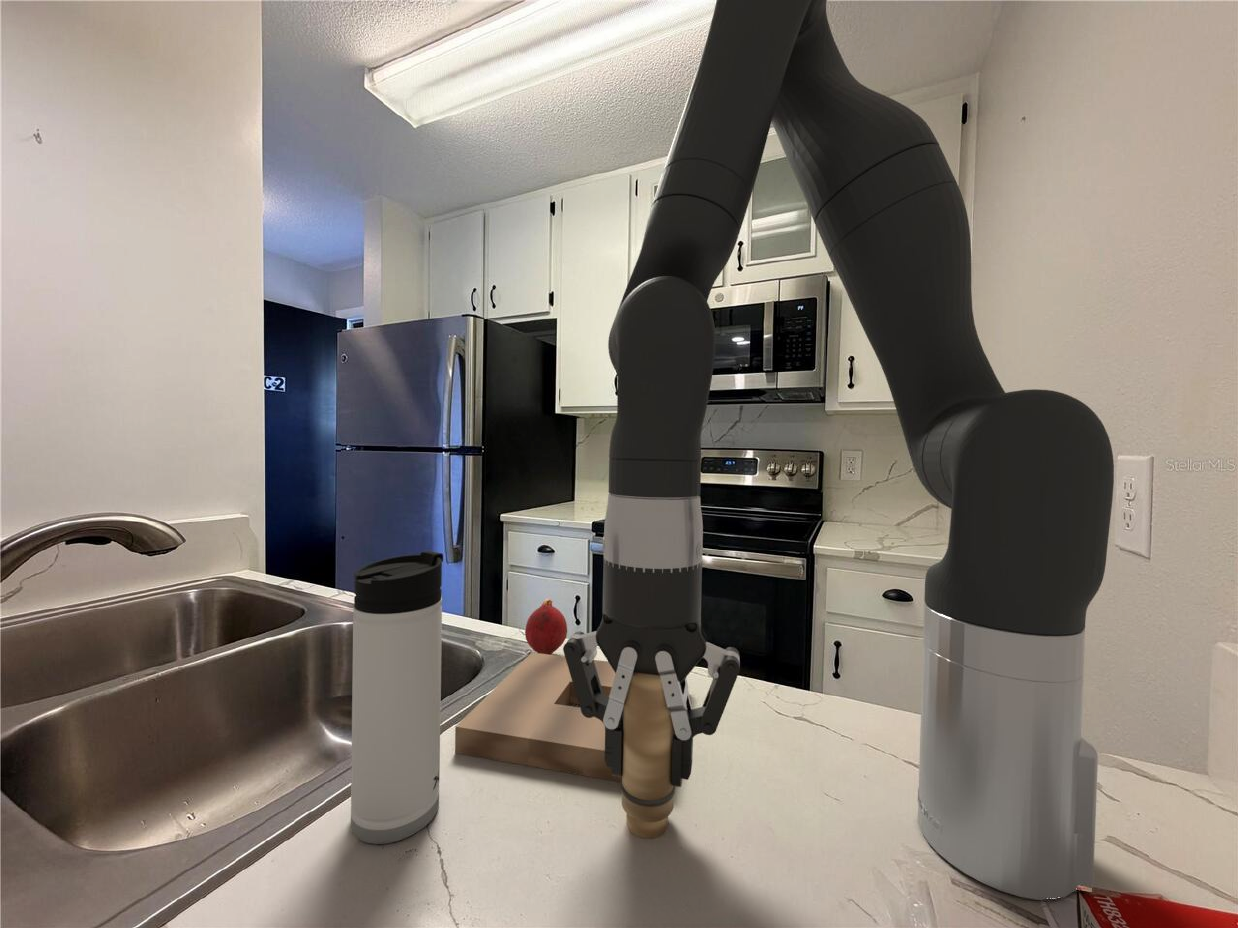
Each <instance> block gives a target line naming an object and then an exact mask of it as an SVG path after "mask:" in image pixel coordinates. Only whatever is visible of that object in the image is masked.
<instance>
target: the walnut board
mask: <svg viewBox="0 0 1238 928" xmlns="http://www.w3.org/2000/svg"><path fill="white" fill-rule="evenodd" d="M593 660H594V663H595V667H596V670H597V673H598V677H599V680H600V683H601V687H602V690H603V693H604V695H606V696H608V697H609V695H610V692H611V688H612V685H613V681H614V678H615V674H616V673H615V671H614V670H613V668H612V667H611V665H610V664H609V662H608V660H598V659H593ZM686 679H687V677H686ZM570 704H572V705H579V702H578V699H577V695H576V692H575V689H574V685H573V682H572V678H571V675H570V672H569V668H568V665H567V662H566V658H565V655H558V654H557V655H555V654H551V655H548V654H540V653H537V652H531V653H530V654H528V656H526V658H525V659H524V660H522V662H521V663H519V664H518V665H517V666H516V667H515V668H514V669H513V670H512V671H511V672H510V673H509V674H508V675H507V676H506V677H504V679H503V680H502V681H501V682H500V683H499V684H498V685H497V686H496V687H494V689H493V690H492V691H491V692H489V693H488V694H487V695H486V696H485V697H484V698H483V700H481V701H480V702H479V703H478V704H477V705H476V706H475V707H474V708H472V710H470V712H469V713H468V714H467V715H466V716H465V717H463V719H461V720H460V722H458V723H457V724H456V725H455V729H454V731H455V733H454V753H455V754H460V755H465V756H471V757H476V758H483V759H488V760H493V761H498V762H505V763H511V764H517V765H523V766H528V767H532V768H533V767H534V768H539V769H545V770H551V771H556V772H562V773H569V774H573V775H580V776H585V777H590V778H597V779H603V780H608V781H615V782H620V783H621V778H622V777H618V776H613V775H612V767H608V766H607V765H606V762H605V726H604V724H603V722H602V721H601V720H599V719H597V718H596V717H592V718H587V717H585V716H584V715H583V714H582V712H581V709H580V706H579V707H578V706H572V705H570Z"/></svg>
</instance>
